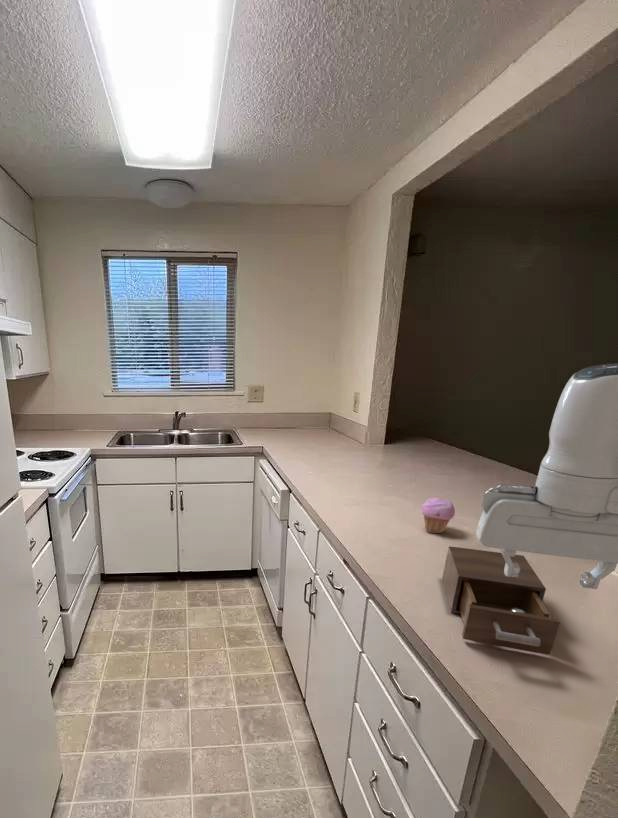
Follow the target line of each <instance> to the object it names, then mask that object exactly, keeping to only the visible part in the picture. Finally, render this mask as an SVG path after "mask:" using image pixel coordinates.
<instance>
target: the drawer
mask: <svg viewBox="0 0 618 818" xmlns="http://www.w3.org/2000/svg"><path fill="white" fill-rule="evenodd" d="M457 604H458V607H459V610H460V614H461V615H460V614H459V615H460V617H461V621H462V624H463V628H462V629H463V630H462V634H461V637H462V640H466V641H472V642H475V643H477V642H478V643H483V644H488V645H494V646H498V647H503V648H509V649H515V650H519V651H526V652H530V653H535V654H542V655H548V656H550V655H551V653H552V650H553V647H554V643H555V640H556V637H557V634H558V630H559V627H560V625H561V620H559V618H557V617H552V616H550V615H551V614H550V612H549V611H548V609H547V607H546V606H545V604H544V603H543V601H541V599H540V598H539V596H538V595H537V593H536V591H533V590H526V589H520V588H513V587H506V586H499V585H492V584H486V583H479V582H472V581H465V580H462V584H461V589H460V593H459V598H458V603H457ZM511 608H521V609H523V610H525V611H526V612H527V613H521V612H514V611H508V610H509V609H511Z"/></svg>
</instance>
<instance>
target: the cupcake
mask: <svg viewBox="0 0 618 818" xmlns="http://www.w3.org/2000/svg"><path fill="white" fill-rule="evenodd" d="M420 510H421V514H422V515H423V519H424V528H425V530H426V532H427V533H430V534H441V533H443V532H444V531H445V530H446V528H447V526H448V524H449V522H450V520H452V519H453V518H454V516H455V513H456V509H455V506H454V503H452V501H450V500H447V499H444V498H441V497H430V498H428V499H427V500H426V501H425V502H423V504H422V505H421V509H420Z"/></svg>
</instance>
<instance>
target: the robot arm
mask: <svg viewBox="0 0 618 818" xmlns="http://www.w3.org/2000/svg"><path fill="white" fill-rule="evenodd" d="M557 401H558V402H557V404H556V407H555V410H554V413H553V417H552V420H551V424H550V428H549V431H548V438H549V440H548V441H549V442H548V443H549V445H548V449H547V451H546V453H545V455H544V456H543V458H542V460H541V462H540V465H539V470H538V472H537V477H536V481H535V485H534V486H530V485H529V486H528V485H527V486H526V485H510V484H505V483H504V484H503V483H502V484H498V485H497V486H492V487H491V488H488V490H486V491H485V492H484V494H483V497H482V502H481V509H482V510H483V511H482V513H481V514H480V518H479V520H478V523H477V526H476V531H475V535H476V538H477V540H478V541H479V543H480V544H481V545H482V546H483V547H486V548H492V549H499V551H500V553H502V555H503V557H504V560H505V562H506V564H505V568H504V574H505V576H507V577H515V578H518V576H519V574H518V573H519V572H520V569H521V568H520V567H519V566H518V563H514V562H512V561H511V558H510V556H512V557H514V556H515V555H516V553H517V552H523V553H530V554H539V555H547V556H555V557H562V558H570V559H580V560H588V561H594V562H596V563H597V565H596V566H595V567H594V568H593V569H592V570H591V571H589V572H588V571H582V573H581V577H580V579H579V584H580V585H581V586H582V588H585V589H591V590H597V589H598V588H599V585H600V582H601V580H603V579H604V578H606V577H607V576H609V575H610V574H612V573H613V572H614V571H616V568H617V566H618V362H617V363H615V362H614V363H602V364H596V365H591V366H588V367H587V366H586V367H584V368H582V369H580V370H578V371H576V372H575V373H573V374H572V375H571V377H570V378H569V379H568V381H567V382H566V383H565V386H564V388H563V389H562V392H561V394H560V396H559V399H558V400H557Z"/></svg>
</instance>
